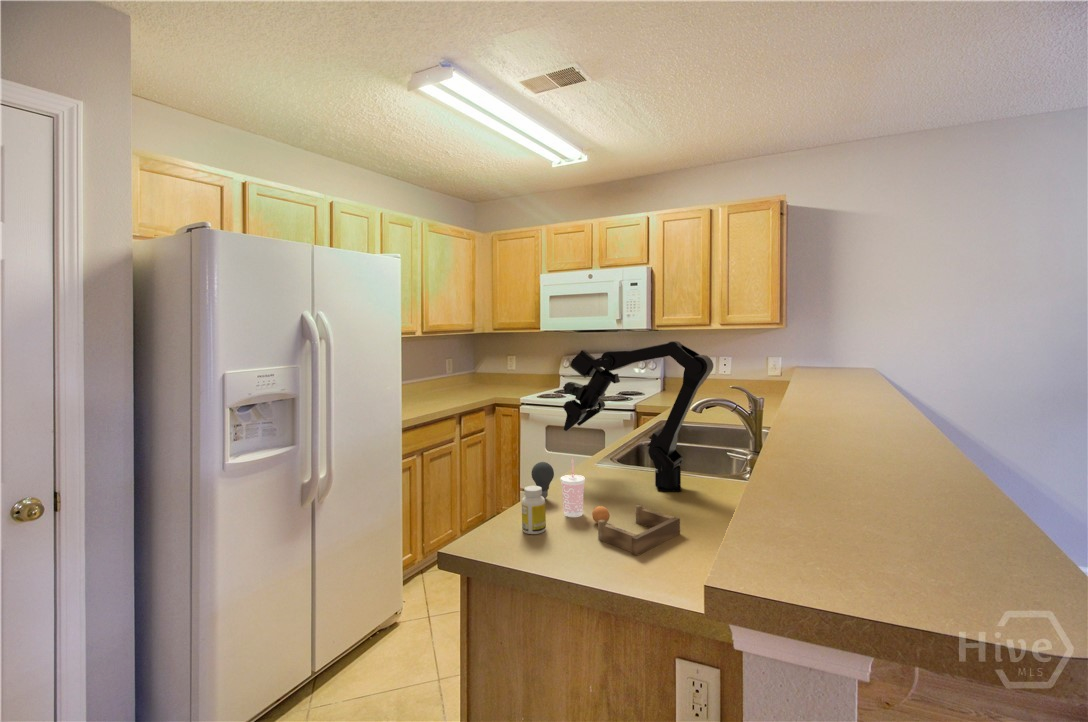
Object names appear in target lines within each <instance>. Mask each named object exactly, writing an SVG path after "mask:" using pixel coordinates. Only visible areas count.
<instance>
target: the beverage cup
mask: <svg viewBox="0 0 1088 722" xmlns="http://www.w3.org/2000/svg"><path fill="white" fill-rule="evenodd" d="M574 463H575V461H574V457H571V474H566V475H562V476H561V477H560V483H561V490H562V491H561V493H562V503H563V504H562V505H563V515H564V516H565V517H567V518H568V517H569V518H577V517H578V518H579V517H581V516H583V512H584V491H585V482H586V478H585V476H583V475H580V474H574V472H575V471H574V469H575V467H574Z"/></svg>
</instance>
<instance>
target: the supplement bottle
mask: <svg viewBox="0 0 1088 722" xmlns="http://www.w3.org/2000/svg"><path fill="white" fill-rule="evenodd" d="M523 490H524V492H523V493H524V497H523V498H522V499H521V522H522V523H521V527H522V528H521V529H522V531H523V533H525V534H529V535H538V534H542V533H544V532H545V531H546V530H547V527H546V526H547V523H546V522H547V520H546V518H547V516H546V500H545V499H546V498H545V499H544V497H542V496H541V495H542V488H541V487H540V486H537V485H527V486H525V487H524V489H523Z"/></svg>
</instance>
